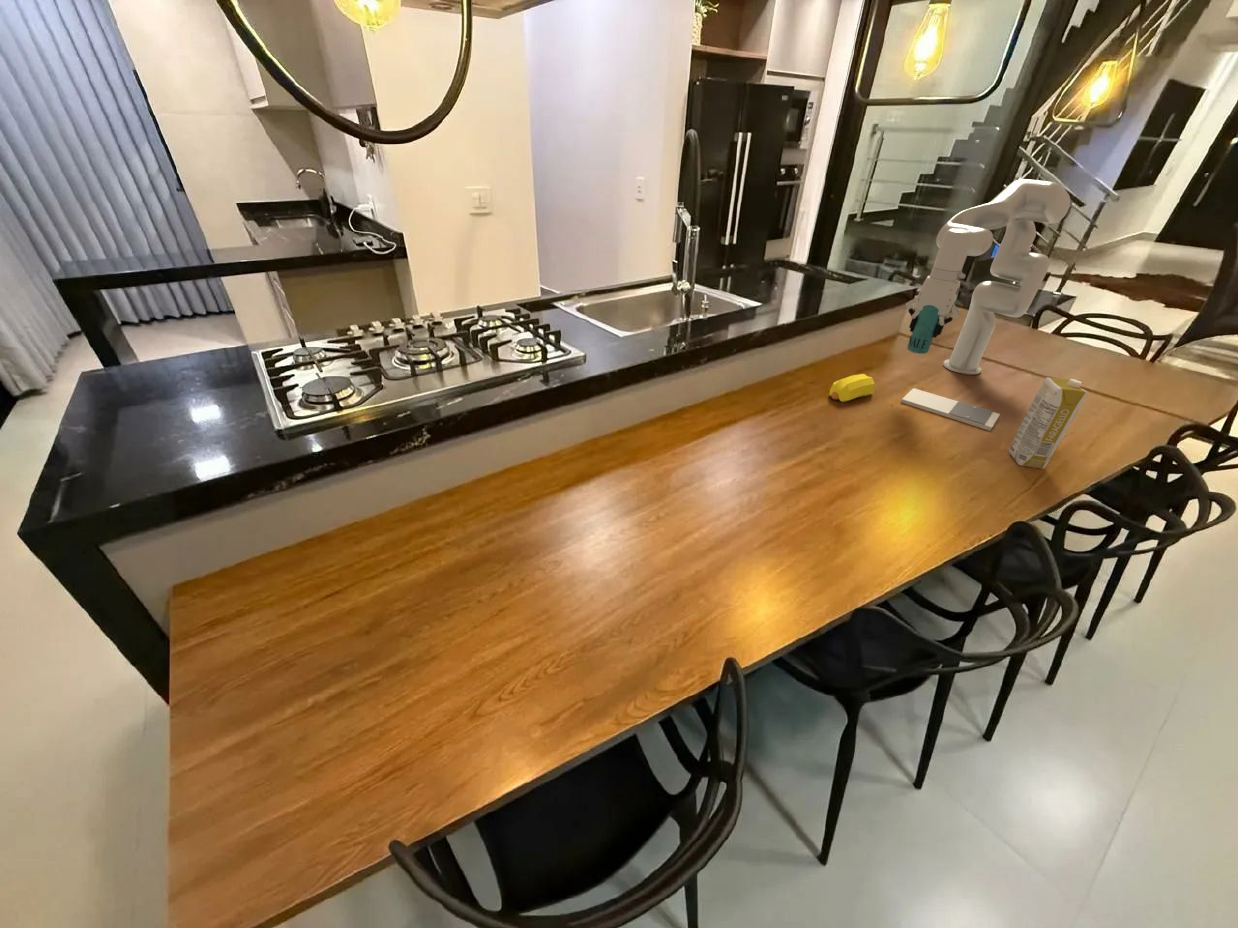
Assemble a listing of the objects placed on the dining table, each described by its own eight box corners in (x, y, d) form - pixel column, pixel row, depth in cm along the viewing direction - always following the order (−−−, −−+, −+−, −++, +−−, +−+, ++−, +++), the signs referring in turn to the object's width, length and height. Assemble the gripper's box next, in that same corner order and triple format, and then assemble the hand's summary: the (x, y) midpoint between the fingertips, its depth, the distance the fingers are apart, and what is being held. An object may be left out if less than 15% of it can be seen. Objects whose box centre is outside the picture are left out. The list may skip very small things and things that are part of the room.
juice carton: (1049, 471, 143) (1096, 389, 130) (1016, 467, 145) (1060, 385, 131) (1033, 453, 151) (1077, 374, 138) (1003, 449, 152) (1043, 370, 139)
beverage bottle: (922, 351, 175) (945, 289, 164) (929, 359, 170) (954, 295, 158) (901, 350, 176) (923, 287, 164) (908, 357, 170) (931, 294, 159)
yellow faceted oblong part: (822, 396, 177) (840, 406, 172) (827, 377, 173) (846, 387, 168) (859, 386, 185) (877, 395, 179) (864, 368, 181) (884, 377, 176)
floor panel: (912, 391, 183) (913, 387, 182) (998, 417, 169) (1000, 413, 168) (900, 402, 175) (902, 398, 174) (990, 430, 161) (992, 426, 161)
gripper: (980, 278, 156) (956, 338, 166) (918, 267, 166) (899, 324, 176) (973, 283, 152) (949, 344, 162) (910, 271, 161) (891, 329, 171)
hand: (923, 333), depth 169 cm, fingers closed on beverage bottle, 6 cm apart
